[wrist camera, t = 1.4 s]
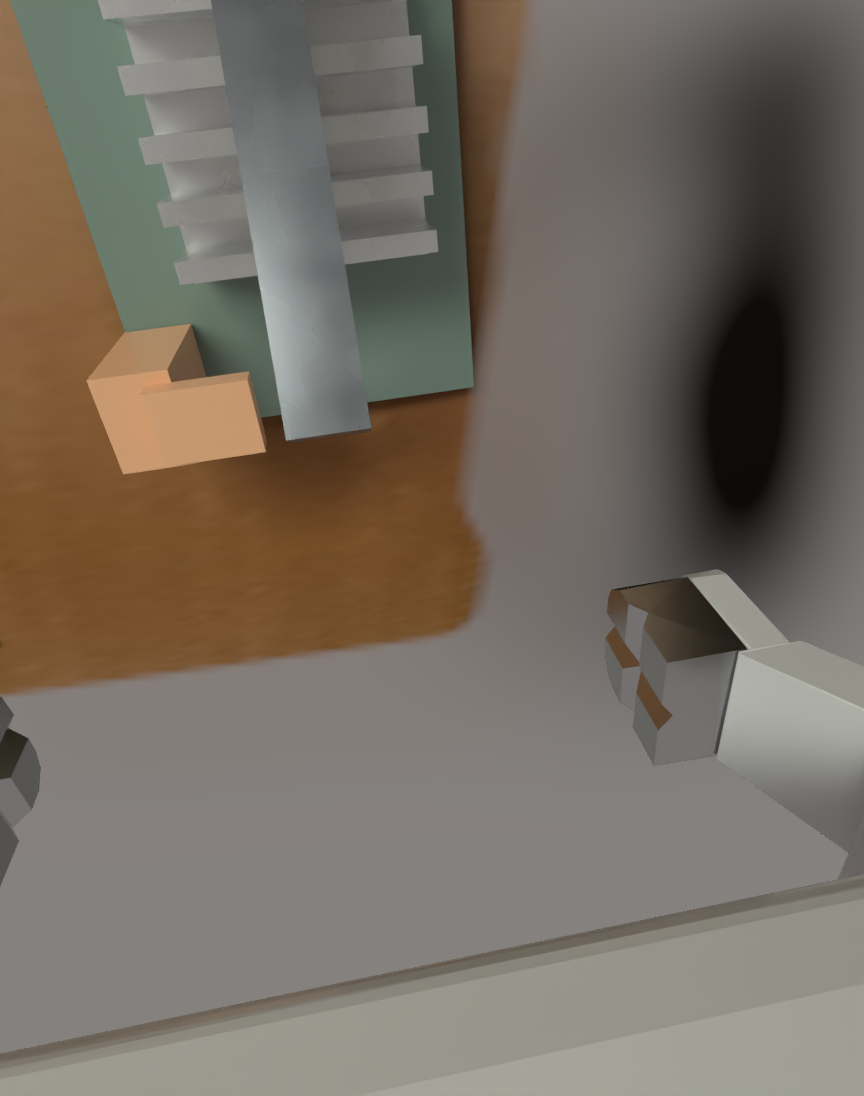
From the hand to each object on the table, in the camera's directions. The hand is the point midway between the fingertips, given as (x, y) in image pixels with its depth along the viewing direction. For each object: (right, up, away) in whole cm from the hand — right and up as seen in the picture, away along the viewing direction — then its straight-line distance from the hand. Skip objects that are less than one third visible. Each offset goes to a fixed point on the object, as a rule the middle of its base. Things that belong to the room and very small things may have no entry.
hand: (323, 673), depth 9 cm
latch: (-9, +10, +23) cm, 27 cm away
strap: (-3, +14, +10) cm, 18 cm away
